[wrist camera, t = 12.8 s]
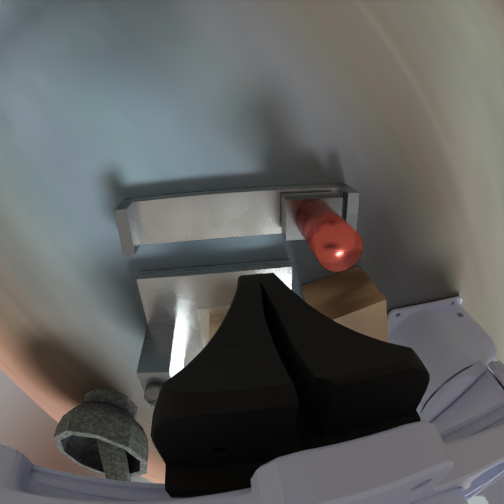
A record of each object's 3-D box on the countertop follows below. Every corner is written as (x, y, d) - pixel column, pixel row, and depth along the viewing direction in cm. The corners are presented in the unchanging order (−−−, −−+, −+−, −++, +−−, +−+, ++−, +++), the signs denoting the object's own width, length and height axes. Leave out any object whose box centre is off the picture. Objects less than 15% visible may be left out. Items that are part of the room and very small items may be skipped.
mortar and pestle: (54, 383, 27) (23, 473, 16) (119, 369, 26) (94, 479, 16) (112, 438, 32) (100, 518, 21) (174, 429, 31) (172, 521, 20)
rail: (345, 183, 21) (359, 192, 19) (343, 223, 22) (355, 236, 20) (124, 199, 20) (114, 210, 18) (131, 240, 21) (123, 255, 19)
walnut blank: (358, 265, 24) (386, 299, 20) (363, 307, 26) (387, 344, 22) (300, 285, 24) (317, 324, 20) (310, 326, 26) (327, 367, 22)
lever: (335, 191, 20) (375, 223, 15) (332, 228, 21) (369, 269, 16) (281, 194, 20) (306, 227, 14) (281, 232, 21) (304, 276, 15)
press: (288, 259, 23) (314, 316, 17) (284, 371, 28) (300, 431, 22) (139, 271, 22) (116, 331, 16) (169, 381, 27) (164, 441, 21)
